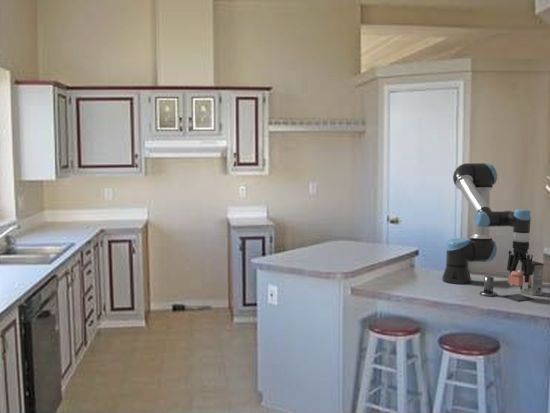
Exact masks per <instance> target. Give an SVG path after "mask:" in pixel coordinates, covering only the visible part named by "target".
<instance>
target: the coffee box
mask: <svg viewBox="0 0 550 413" xmlns="http://www.w3.org/2000/svg"><path fill="white" fill-rule="evenodd" d="M544 265H545V264H544V263H543V262H538V261H534V260H532V268H533V275H530V276H529V277H530V285H528V289H522V286H519V287H520V289H519V292H521V293H524V294H527V295H529V294H530V295H529V296H541V295H542V293H543V280H544V279H543V278H544ZM521 271H523V267H522V265H521Z"/></svg>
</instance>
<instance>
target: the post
mask: <svg viewBox="0 0 550 413" xmlns="http://www.w3.org/2000/svg"><path fill="white" fill-rule="evenodd" d="M483 279H484V280H483V290H481V291H479V295H481V296H482V295H483V296H482V297H493V298H494V297H496V296H497V294H498V293H497V292H496V291H494V281H495V280H494V276H491V275H486V276H484V278H483Z"/></svg>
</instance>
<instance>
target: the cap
mask: <svg viewBox="0 0 550 413" xmlns="http://www.w3.org/2000/svg"><path fill="white" fill-rule="evenodd" d="M523 275H524V272H523V271H521V270H519V269H517V270H515V271H512V275H510V274H508V277H507V284H509V285H510V284H513V285H514V286H517V287H520V286H522V284H523ZM528 285H530V277H529V282H528Z"/></svg>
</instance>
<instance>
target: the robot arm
mask: <svg viewBox="0 0 550 413" xmlns="http://www.w3.org/2000/svg"><path fill="white" fill-rule="evenodd" d="M452 178H453V180H452V182H453V183H454V186H455V187H456V188H457V189H458V190H460V191H461V193H462V195H463V196H464V198H465V200H466V201H467V203H468V205H469V206H470V208H471V209H472V211H473V212H472V235H471V236H470V238H467V237H459V238H458V237H457V238H452V239H451V238H450V240H448V241H447V244H446V260H445V262H446V264H445V269H444V272H443V274H442V277H441V278H442V279H441V280H442V281H443V282H444V283H447V284H453V285H455V284H456V285H465V284H470V283H472V277H471V273H470V270H469V263H480V262H481V263H486V262H491V261H492V260H493V261H494V259H495V257H496V255H497V251H498V247H497V245H496V244H497V243H496V241H494V240H493V237H492V236H491V235H490V227H493V228H494V227H512V230H513V231H512V232H513V233H512V249H513V250H508V259H507V267H506V270H507V271H509V275H512V271H517V267H518V264H519V262H520V264H521V266H522V267H523V272H524V275H523V284H522V289H528V282H529V276H530V275H533V268H532V261H533V257H534V256H533V254H530V253H529V252H528V250H529V249H530V242H529V241H530V234H531V233H530V231H531V218H532V217H531V210H529V209H528V208H527V209H525V208H516V209H514V211H512V210H504V211H492V209H491V208H490V206H491V205H490V195H491V194H490V191H492V189H493V186H494V185H495V184H496V183H497V180H498V173H497V170H496V167H495V166H494V165H493V164H491V163H483V162H482V163H480V162H479V163H476V162H475V163H462V164H461V165H459V166H457V167H456V168H455V169H454V172H453V176H452ZM509 285H510V286H511V287H513V286H515V285H513V284H509Z"/></svg>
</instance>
